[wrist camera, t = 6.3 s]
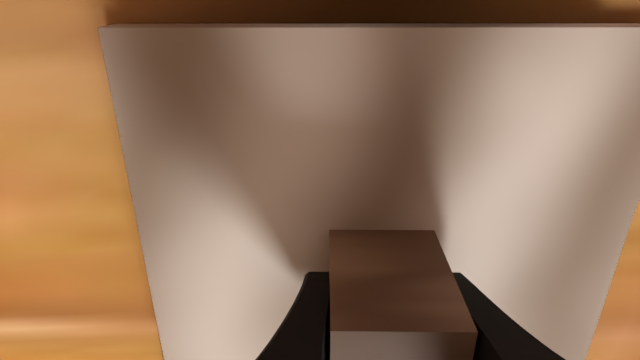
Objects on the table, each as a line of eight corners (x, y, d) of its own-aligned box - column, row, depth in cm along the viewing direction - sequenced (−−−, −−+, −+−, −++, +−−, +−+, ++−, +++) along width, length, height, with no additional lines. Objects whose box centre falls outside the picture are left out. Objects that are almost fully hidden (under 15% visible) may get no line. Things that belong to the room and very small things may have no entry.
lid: (666, 23, 11) (899, 54, 7) (548, 407, 17) (629, 564, 12) (115, 23, 11) (-24, 53, 7) (185, 404, 17) (135, 558, 13)
